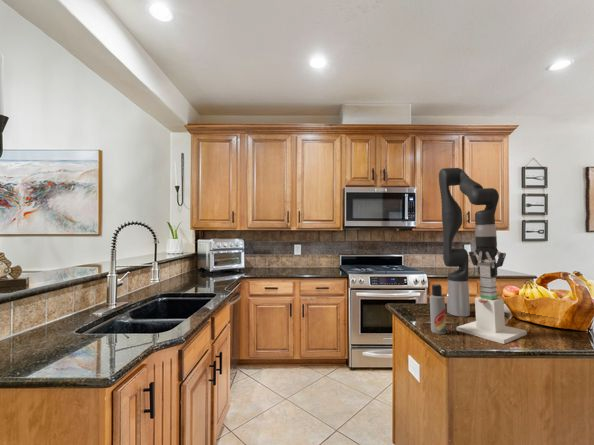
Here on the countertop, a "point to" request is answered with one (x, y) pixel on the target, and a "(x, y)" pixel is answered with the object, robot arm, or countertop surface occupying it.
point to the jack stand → (491, 322)
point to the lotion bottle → (437, 310)
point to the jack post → (487, 282)
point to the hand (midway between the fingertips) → (487, 276)
